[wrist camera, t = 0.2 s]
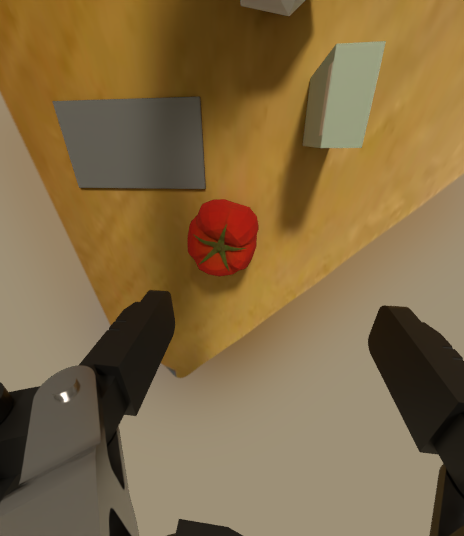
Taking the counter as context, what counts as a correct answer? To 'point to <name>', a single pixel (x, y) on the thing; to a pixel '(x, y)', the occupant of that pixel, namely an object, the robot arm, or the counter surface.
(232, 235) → the tomato
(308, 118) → the slab
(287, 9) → the die
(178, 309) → the counter surface
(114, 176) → the mat
